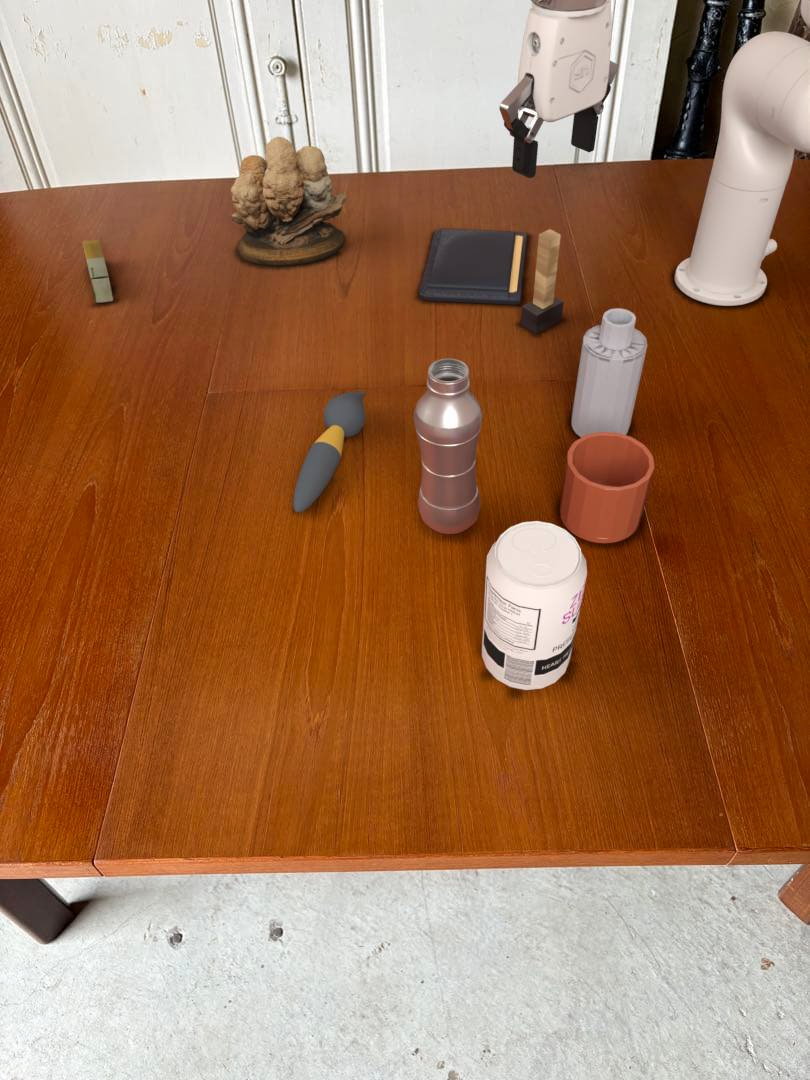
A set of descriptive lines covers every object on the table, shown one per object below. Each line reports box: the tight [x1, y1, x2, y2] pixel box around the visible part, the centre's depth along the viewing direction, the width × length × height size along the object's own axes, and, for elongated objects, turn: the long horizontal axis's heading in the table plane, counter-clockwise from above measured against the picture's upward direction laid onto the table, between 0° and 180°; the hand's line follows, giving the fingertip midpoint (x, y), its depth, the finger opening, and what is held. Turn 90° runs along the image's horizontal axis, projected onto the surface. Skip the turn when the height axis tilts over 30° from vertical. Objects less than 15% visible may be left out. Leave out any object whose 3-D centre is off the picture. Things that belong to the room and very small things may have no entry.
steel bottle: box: [571, 307, 648, 438], centre depth 92 cm, size 7×7×15 cm
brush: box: [520, 228, 565, 335], centre depth 108 cm, size 5×3×13 cm, turn 129°
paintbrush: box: [292, 391, 367, 514], centre depth 94 cm, size 20×5×5 cm, turn 167°
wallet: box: [418, 227, 528, 306], centre depth 122 cm, size 20×2×15 cm
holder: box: [559, 432, 655, 544], centre depth 85 cm, size 9×9×8 cm
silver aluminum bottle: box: [413, 358, 483, 535], centre depth 81 cm, size 6×7×20 cm
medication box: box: [82, 239, 114, 304], centre depth 123 cm, size 12×3×4 cm, turn 21°
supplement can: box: [481, 520, 588, 691], centre depth 71 cm, size 8×8×15 cm
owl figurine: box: [230, 136, 348, 267], centre depth 123 cm, size 18×12×17 cm, turn 96°
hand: (553, 160), depth 95 cm, fingers open, 9 cm apart
